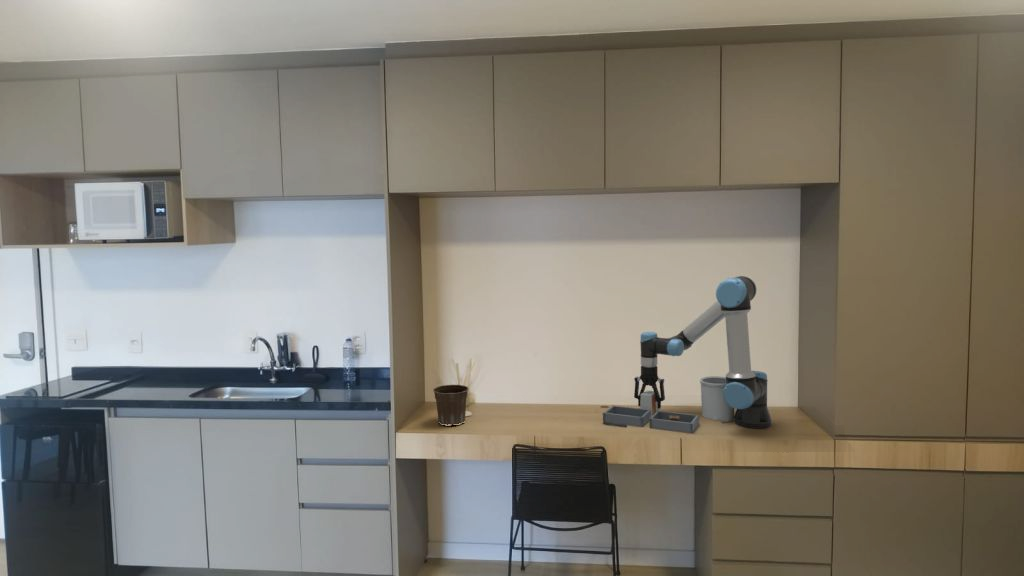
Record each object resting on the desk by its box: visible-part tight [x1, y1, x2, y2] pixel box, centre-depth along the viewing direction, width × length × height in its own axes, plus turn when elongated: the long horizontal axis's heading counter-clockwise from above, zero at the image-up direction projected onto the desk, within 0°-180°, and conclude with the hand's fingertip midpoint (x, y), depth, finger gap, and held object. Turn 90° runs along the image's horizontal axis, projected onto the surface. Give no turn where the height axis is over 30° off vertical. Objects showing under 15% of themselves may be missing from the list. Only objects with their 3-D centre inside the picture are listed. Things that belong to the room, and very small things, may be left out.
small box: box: [641, 390, 657, 417], centre depth 271 cm, size 8×6×10 cm
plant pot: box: [432, 384, 469, 425], centre depth 269 cm, size 16×16×16 cm
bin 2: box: [648, 410, 700, 434], centre depth 251 cm, size 18×13×5 cm
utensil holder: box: [699, 375, 735, 423], centre depth 263 cm, size 15×15×18 cm
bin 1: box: [602, 405, 652, 428], centre depth 262 cm, size 18×13×5 cm
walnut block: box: [669, 415, 679, 421], centre depth 251 cm, size 4×4×4 cm
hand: (649, 414), depth 272 cm, fingers open, 6 cm apart
